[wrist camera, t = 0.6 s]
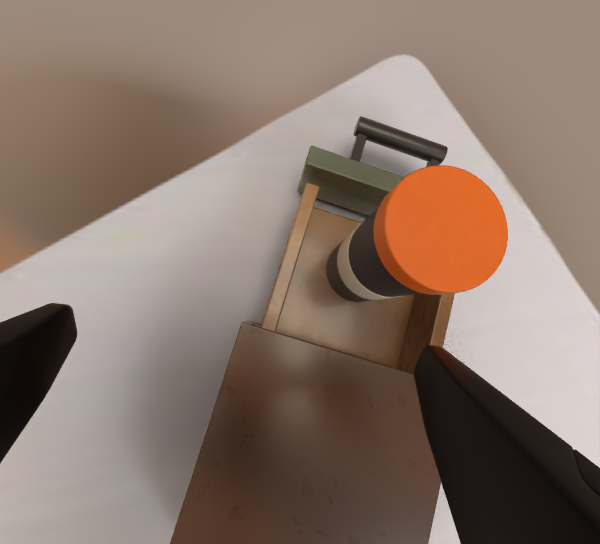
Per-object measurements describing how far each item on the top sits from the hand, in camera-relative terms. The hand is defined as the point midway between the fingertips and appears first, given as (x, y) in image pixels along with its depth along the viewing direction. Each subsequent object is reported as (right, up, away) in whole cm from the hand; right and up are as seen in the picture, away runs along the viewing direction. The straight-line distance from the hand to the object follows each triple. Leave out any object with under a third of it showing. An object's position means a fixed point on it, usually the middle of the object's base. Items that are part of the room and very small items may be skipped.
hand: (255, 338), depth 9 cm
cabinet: (+1, -10, +13) cm, 17 cm away
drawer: (+5, +3, +15) cm, 16 cm away
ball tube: (+5, +2, +14) cm, 15 cm away
